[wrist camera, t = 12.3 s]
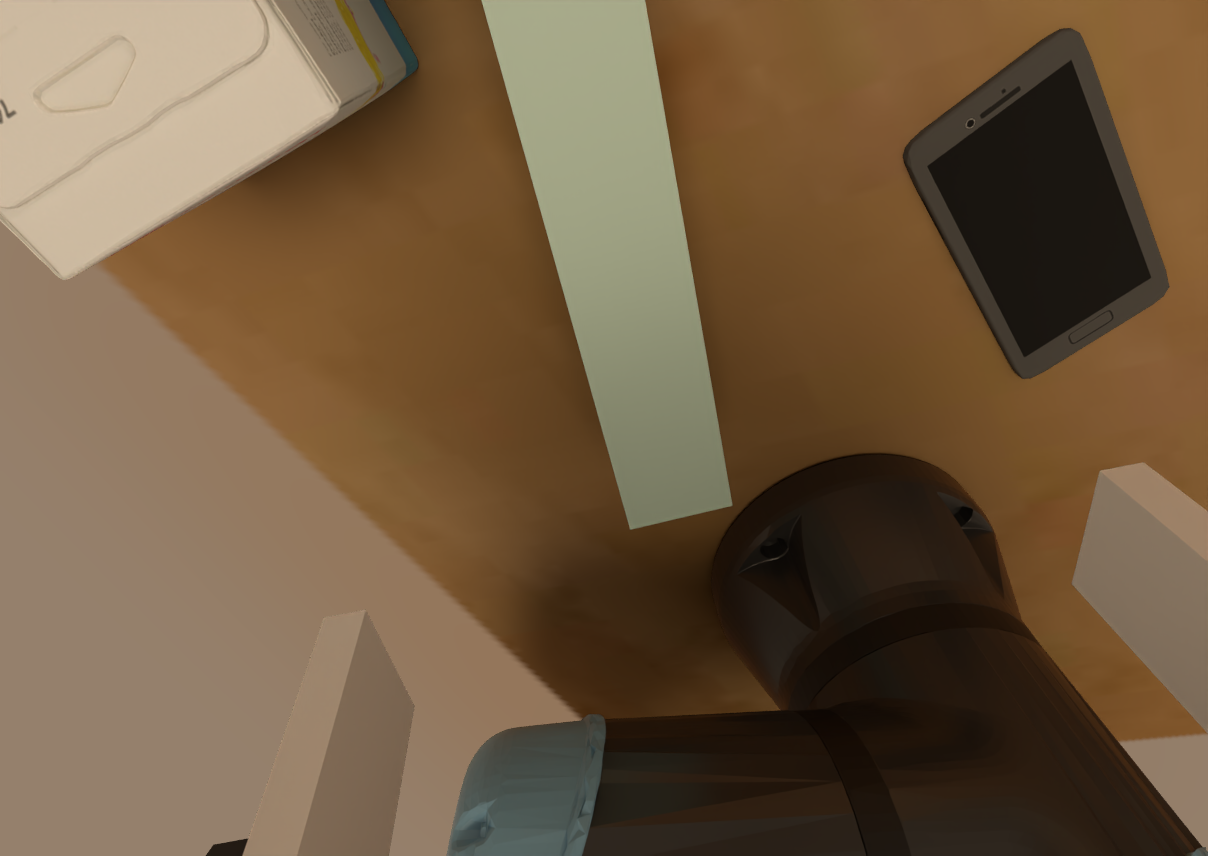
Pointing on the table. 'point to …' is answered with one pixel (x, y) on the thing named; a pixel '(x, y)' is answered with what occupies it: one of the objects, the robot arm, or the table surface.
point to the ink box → (168, 106)
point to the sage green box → (617, 241)
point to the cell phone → (1040, 205)
